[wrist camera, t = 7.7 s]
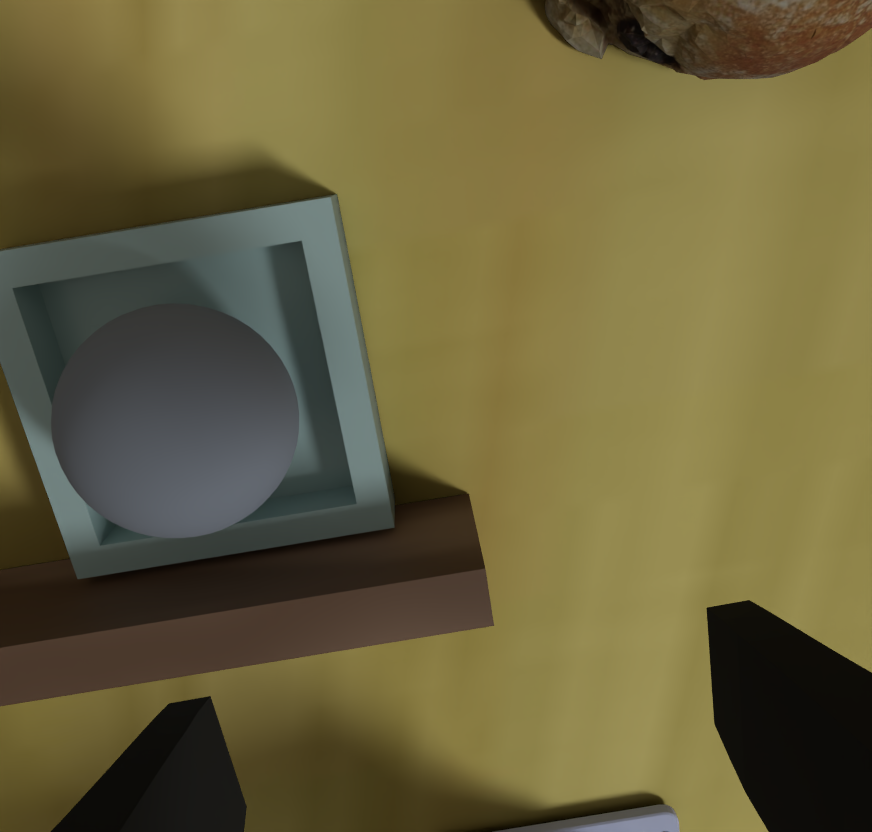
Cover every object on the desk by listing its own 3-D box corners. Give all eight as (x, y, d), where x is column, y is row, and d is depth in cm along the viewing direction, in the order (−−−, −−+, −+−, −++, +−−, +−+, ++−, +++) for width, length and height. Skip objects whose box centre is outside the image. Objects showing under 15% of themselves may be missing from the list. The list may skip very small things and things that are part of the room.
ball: (320, 467, 19) (312, 559, 15) (125, 498, 19) (52, 603, 14) (284, 274, 18) (262, 307, 13) (70, 304, 17) (-31, 349, 13)
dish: (394, 497, 20) (394, 527, 19) (104, 544, 20) (77, 579, 19) (336, 193, 18) (330, 196, 16) (4, 248, 18) (-38, 257, 16)
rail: (476, 542, 21) (493, 625, 17) (-19, 622, 21) (-111, 724, 17) (468, 493, 20) (485, 568, 17) (-38, 576, 20) (-136, 670, 17)
